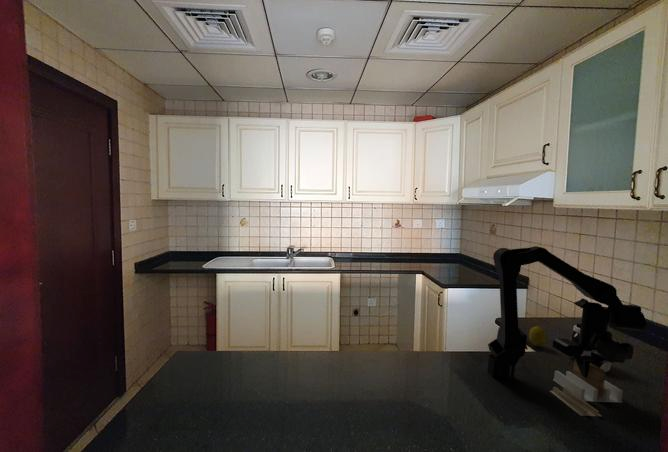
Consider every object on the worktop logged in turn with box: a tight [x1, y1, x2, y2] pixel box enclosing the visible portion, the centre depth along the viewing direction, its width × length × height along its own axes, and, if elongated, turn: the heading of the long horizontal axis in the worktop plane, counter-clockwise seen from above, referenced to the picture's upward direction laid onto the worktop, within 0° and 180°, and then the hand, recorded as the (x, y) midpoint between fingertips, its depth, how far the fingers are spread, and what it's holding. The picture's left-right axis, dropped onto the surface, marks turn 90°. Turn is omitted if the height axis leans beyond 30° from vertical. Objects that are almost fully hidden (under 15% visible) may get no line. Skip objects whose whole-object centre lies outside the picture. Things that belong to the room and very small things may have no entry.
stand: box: [549, 386, 602, 417], centre depth 79 cm, size 6×10×2 cm, turn 3°
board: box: [572, 360, 607, 396], centre depth 85 cm, size 2×8×7 cm, turn 3°
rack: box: [552, 370, 624, 403], centre depth 85 cm, size 12×10×4 cm
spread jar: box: [568, 324, 612, 373], centre depth 104 cm, size 12×11×12 cm
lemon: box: [528, 325, 547, 347], centre depth 115 cm, size 6×6×8 cm
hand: (587, 377), depth 85 cm, fingers closed on board, 2 cm apart
